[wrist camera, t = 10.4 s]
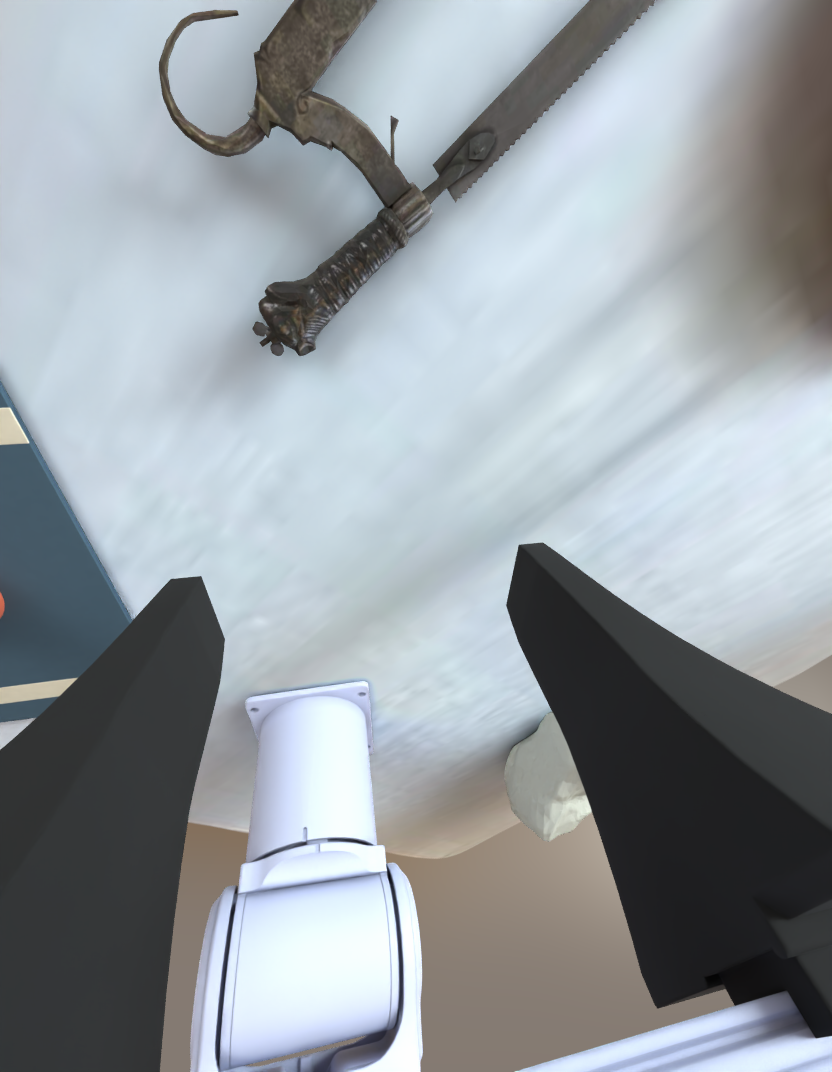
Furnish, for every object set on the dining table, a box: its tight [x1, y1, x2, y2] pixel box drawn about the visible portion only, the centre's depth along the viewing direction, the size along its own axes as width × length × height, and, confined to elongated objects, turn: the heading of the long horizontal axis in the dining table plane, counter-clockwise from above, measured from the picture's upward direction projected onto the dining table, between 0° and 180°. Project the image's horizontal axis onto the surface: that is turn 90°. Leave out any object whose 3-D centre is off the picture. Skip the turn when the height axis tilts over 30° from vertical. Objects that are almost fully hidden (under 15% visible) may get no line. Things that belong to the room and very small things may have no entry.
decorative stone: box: [505, 712, 592, 842], centre depth 36 cm, size 11×9×10 cm
